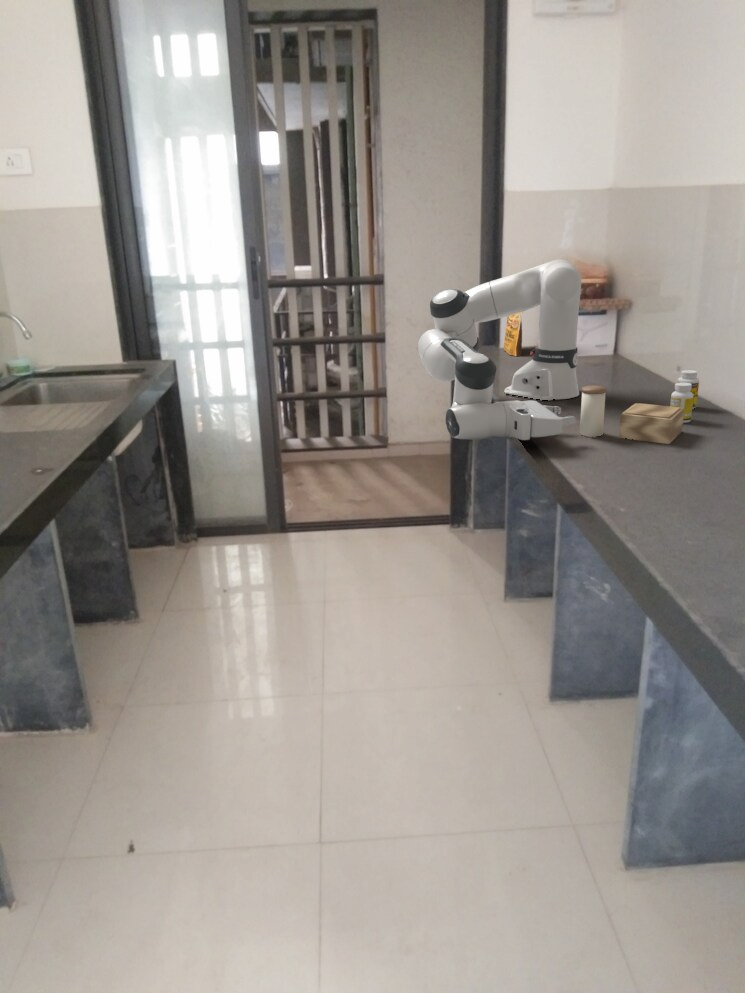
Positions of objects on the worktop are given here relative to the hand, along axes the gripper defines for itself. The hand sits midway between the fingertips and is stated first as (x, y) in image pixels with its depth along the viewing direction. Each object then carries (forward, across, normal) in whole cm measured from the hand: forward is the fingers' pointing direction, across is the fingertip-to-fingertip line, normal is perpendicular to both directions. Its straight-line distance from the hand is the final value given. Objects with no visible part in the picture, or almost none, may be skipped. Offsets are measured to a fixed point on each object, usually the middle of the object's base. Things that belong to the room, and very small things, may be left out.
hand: (567, 414), depth 192 cm
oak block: (+20, +4, -6) cm, 22 cm away
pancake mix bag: (+22, -113, -6) cm, 115 cm away
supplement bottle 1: (+41, -18, -6) cm, 45 cm away
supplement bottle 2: (+33, -6, -6) cm, 34 cm away
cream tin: (+7, 0, -6) cm, 9 cm away
